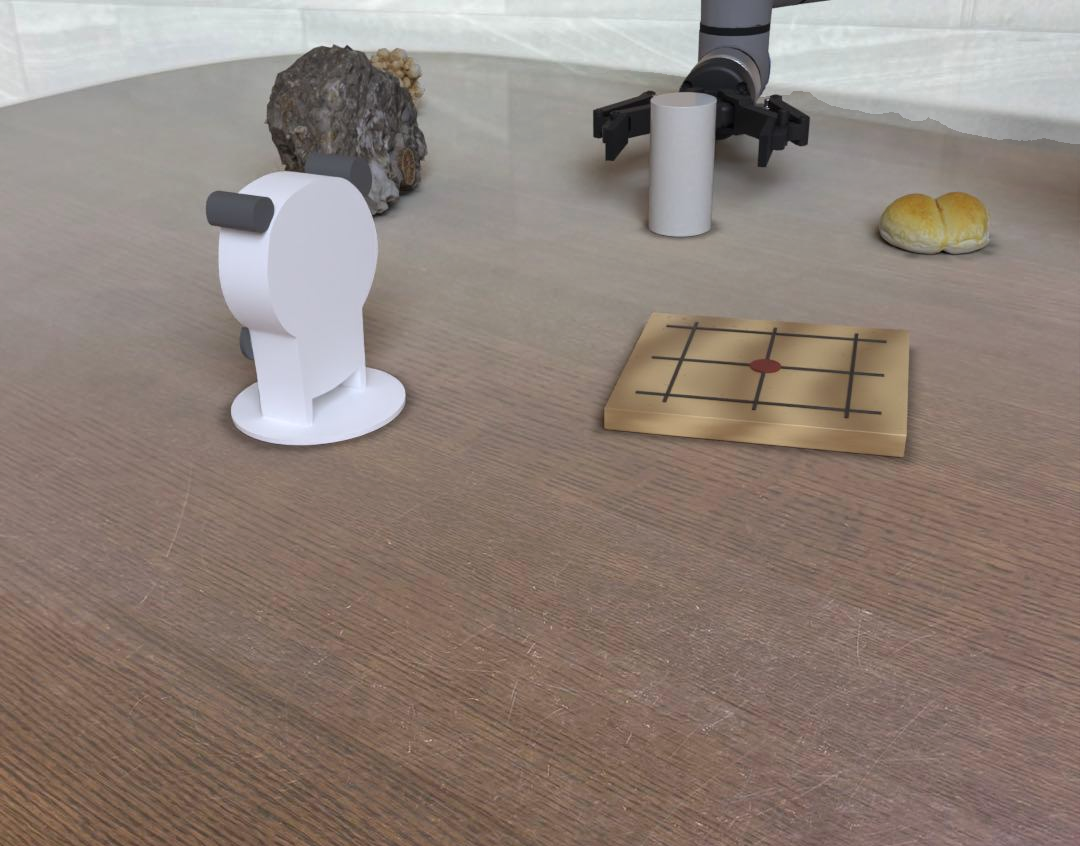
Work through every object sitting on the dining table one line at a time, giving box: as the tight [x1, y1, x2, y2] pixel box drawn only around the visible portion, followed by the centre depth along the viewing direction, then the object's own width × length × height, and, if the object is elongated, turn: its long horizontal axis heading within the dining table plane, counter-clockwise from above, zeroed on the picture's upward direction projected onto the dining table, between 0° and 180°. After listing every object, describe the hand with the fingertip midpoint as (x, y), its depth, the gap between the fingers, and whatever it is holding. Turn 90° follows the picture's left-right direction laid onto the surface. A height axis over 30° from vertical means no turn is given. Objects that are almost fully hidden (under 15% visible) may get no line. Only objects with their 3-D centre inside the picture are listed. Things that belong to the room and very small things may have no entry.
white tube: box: [647, 91, 717, 238], centre depth 105 cm, size 6×6×11 cm
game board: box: [603, 311, 911, 458], centre depth 79 cm, size 18×16×2 cm
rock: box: [263, 43, 429, 216], centre depth 113 cm, size 18×14×15 cm
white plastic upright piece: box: [205, 152, 407, 446], centre depth 75 cm, size 12×11×15 cm
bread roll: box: [878, 191, 991, 255], centre depth 101 cm, size 8×9×4 cm
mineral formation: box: [369, 47, 426, 111], centre depth 144 cm, size 8×13×15 cm
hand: (684, 148), depth 106 cm, fingers open, 13 cm apart
